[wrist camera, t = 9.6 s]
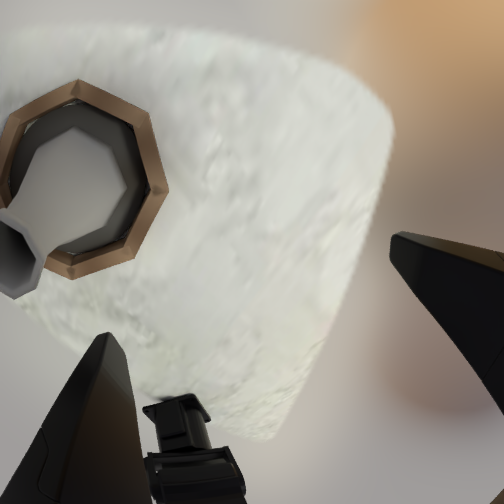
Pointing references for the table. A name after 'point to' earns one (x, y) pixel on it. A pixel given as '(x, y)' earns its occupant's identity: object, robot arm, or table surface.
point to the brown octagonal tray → (126, 153)
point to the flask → (56, 205)
